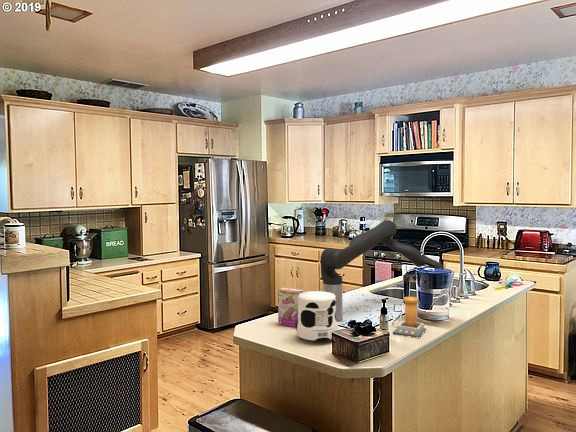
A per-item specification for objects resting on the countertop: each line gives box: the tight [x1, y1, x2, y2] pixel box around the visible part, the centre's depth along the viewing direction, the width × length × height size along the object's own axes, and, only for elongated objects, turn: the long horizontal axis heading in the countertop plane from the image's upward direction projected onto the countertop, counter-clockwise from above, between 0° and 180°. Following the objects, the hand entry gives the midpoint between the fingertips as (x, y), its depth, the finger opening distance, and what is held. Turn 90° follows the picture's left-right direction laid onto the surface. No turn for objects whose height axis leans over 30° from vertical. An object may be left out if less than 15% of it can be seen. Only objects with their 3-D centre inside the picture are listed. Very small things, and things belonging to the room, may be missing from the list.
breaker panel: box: [392, 320, 427, 339], centre depth 201 cm, size 11×12×3 cm
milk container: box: [295, 290, 339, 343], centre depth 193 cm, size 17×17×18 cm
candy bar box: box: [277, 287, 305, 329], centre depth 211 cm, size 11×5×16 cm, turn 59°
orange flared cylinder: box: [403, 296, 419, 328], centre depth 202 cm, size 6×6×14 cm
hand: (415, 281), depth 214 cm, fingers open, 8 cm apart
